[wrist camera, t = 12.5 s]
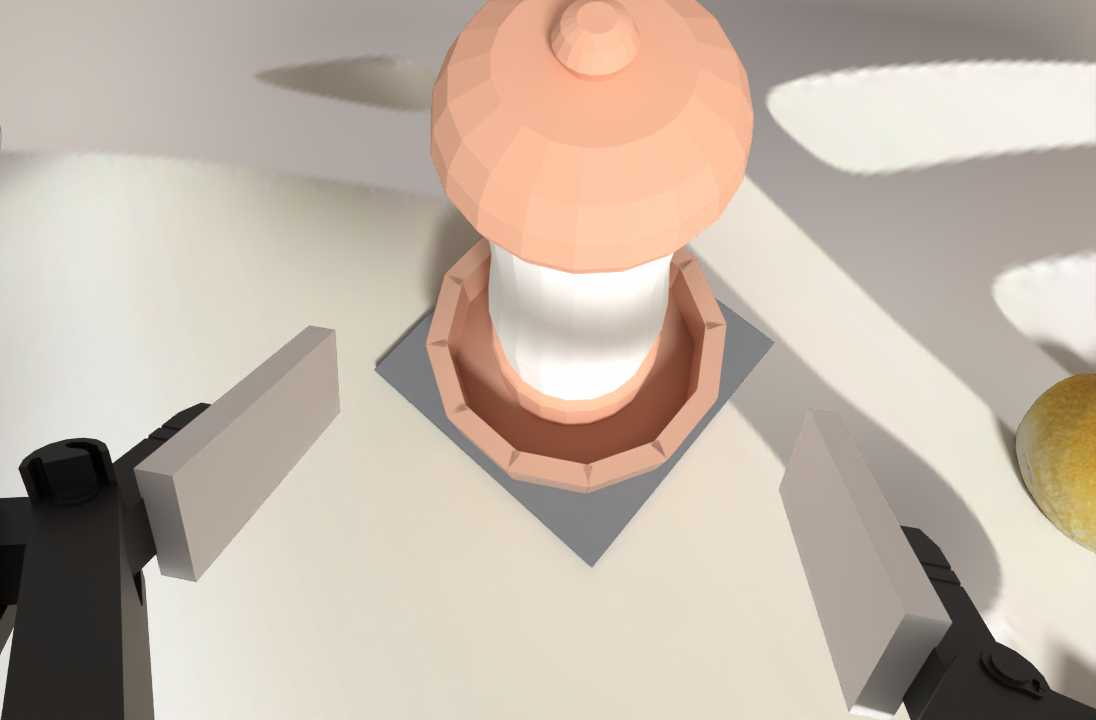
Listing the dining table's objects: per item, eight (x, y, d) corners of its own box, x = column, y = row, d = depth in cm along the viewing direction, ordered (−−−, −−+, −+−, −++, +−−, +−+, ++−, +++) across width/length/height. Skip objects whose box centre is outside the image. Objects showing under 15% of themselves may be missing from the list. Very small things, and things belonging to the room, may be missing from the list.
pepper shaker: (629, 270, 30) (737, -157, 12) (666, 410, 28) (868, 152, 10) (485, 298, 30) (368, -97, 11) (512, 441, 28) (420, 237, 9)
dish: (389, 368, 30) (370, 348, 27) (561, 194, 32) (561, 158, 29) (590, 549, 27) (594, 550, 24) (758, 343, 30) (781, 320, 27)
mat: (376, 371, 30) (374, 369, 30) (560, 186, 33) (560, 182, 33) (591, 567, 27) (591, 567, 27) (771, 345, 30) (774, 342, 30)
